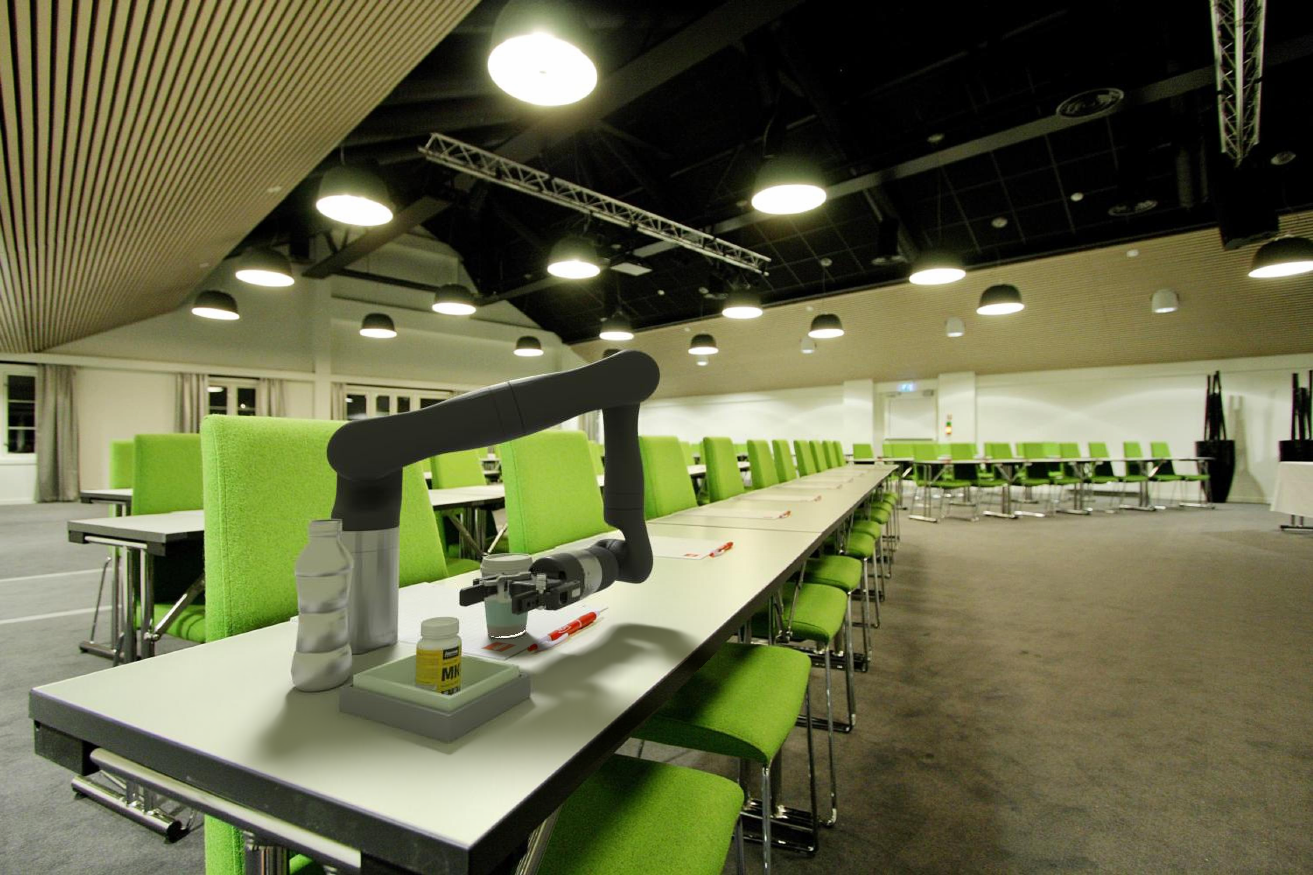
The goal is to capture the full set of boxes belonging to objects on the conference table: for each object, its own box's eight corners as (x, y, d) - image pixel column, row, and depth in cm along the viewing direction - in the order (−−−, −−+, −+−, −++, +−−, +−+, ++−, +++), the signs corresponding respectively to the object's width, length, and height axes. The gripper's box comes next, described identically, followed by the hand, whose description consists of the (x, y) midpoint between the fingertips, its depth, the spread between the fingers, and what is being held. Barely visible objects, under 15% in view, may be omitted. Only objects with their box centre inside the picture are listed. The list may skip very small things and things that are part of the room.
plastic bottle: (287, 703, 65) (291, 524, 66) (293, 682, 71) (296, 519, 72) (352, 692, 68) (355, 521, 69) (352, 673, 74) (355, 516, 75)
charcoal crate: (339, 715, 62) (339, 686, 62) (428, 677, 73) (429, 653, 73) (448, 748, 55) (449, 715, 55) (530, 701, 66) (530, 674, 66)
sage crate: (352, 708, 63) (353, 674, 63) (428, 677, 72) (428, 647, 72) (449, 736, 56) (449, 698, 56) (518, 698, 65) (519, 665, 65)
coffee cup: (531, 623, 97) (531, 551, 97) (537, 638, 89) (538, 559, 89) (477, 628, 94) (478, 554, 95) (479, 644, 86) (480, 562, 87)
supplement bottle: (444, 708, 61) (446, 628, 62) (405, 704, 62) (407, 625, 63) (468, 691, 66) (470, 616, 66) (431, 687, 67) (433, 614, 67)
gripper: (527, 548, 89) (445, 566, 74) (606, 555, 82) (533, 576, 68) (527, 598, 88) (444, 625, 74) (606, 609, 82) (532, 641, 68)
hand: (486, 602), depth 71 cm, fingers open, 8 cm apart
